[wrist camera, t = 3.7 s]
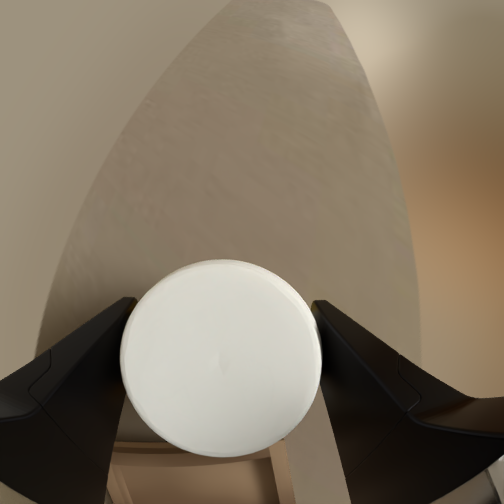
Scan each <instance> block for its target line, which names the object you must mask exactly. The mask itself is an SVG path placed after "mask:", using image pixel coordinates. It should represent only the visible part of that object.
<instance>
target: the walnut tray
mask: <svg viewBox="0 0 504 504" xmlns="http://www.w3.org/2000/svg"><path fill="white" fill-rule="evenodd" d="M107 489H108V491H109V494H110V496H111V499H112V501H113V503H114V504H296V503H295V497H294V491H293V486H292V480H291V475H290V469H289V463H288V458H287V452H286V447H285V441H284V439H283V438H282V439H281V440H279V441H278V442H276V443H274V444H273V445H271V446H269V447H267V448H265V449H262V450H260V451H257V452H255V453H251V454H247V455H242V456H237V457H210V456H204V455H199V454H195V453H192V452H189V451H186V450H183V449H181V448H179V447H176V446H174V445H172V444H171V443H169V442H118V441H115V442H114V447H113V452H112V457H111V463H110V468H109V474H108V481H107Z"/></svg>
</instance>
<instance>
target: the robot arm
mask: <svg viewBox="0 0 504 504" xmlns="http://www.w3.org/2000/svg"><path fill="white" fill-rule="evenodd" d="M137 303H138V302H137V299H136V298H135V297H123V298H121V299H120V300H119V301H117V302H116V303H114V304H113V305H111V306H110V307H108V308H107V309H105V310H104V311H102V312H101V313H99V314H98V315H96V316H95V317H94V318H92V319H91V320H89V321H88V322H86V323H85V324H83V325H82V326H81V327H79V328H78V329H76V330H75V331H73V332H72V333H71V334H69V335H68V336H66V337H65V338H63V339H62V340H61V341H59V342H58V343H56V344H55V345H54V346H52V347H51V349H48V350H47V351H45V352H44V353H42V354H41V355H40V356H38V357H37V358H35V359H34V360H32V361H31V362H30V363H28V364H26V365H25V366H23V367H22V368H20V369H18V370H17V371H15V372H14V373H12V374H10V375H9V376H7V377H5V378H4V379H2V380H1V381H0V504H104V500H105V493H106V487H107V481H108V474H109V468H110V463H111V457H112V452H113V447H114V442H115V438H116V433H117V429H118V424H119V420H120V416H121V411H122V407H123V403H124V399H125V395H126V390H125V387H124V384H123V380H122V374H121V367H120V348H121V342H122V336H123V332H124V329H125V326H126V323H127V321H128V319H129V317H130V315H131V313H132V311H133V310H134V308H135V306H136V305H137ZM310 311H311V313H312V315H313V317H314V319H315V321H316V324H317V327H318V330H319V333H320V337H321V343H322V355H323V361H322V371H321V376H320V382H319V383H320V386H321V390H322V393H323V397H324V400H325V404H326V407H327V411H328V415H329V418H330V422H331V426H332V429H333V433H334V437H335V441H336V444H337V448H338V452H339V456H340V460H341V463H342V467H343V471H344V475H345V480H346V484H347V488H348V492H349V496H350V500H351V504H504V397H494V398H474V397H470V396H467V395H464V394H463V393H461V392H459V391H457V390H456V389H454V388H452V387H450V386H449V385H447V384H445V383H444V382H442V381H440V380H439V379H437V378H435V377H434V376H432V375H430V374H429V373H427V372H426V371H424V370H422V369H421V368H419V367H418V366H416V365H415V364H414V363H412V362H411V361H409V360H408V359H406V358H405V357H404V356H402V355H401V354H400V355H399V353H398V352H397V351H395V350H394V349H393V348H391V347H390V346H388V345H387V344H386V343H384V342H383V341H382V340H380V339H379V338H377V337H376V336H375V335H373V334H372V333H371V332H369V331H368V330H366V329H365V328H364V327H362V326H361V325H359V324H358V323H357V322H355V321H354V320H353V319H351V318H350V317H348V316H347V315H346V314H344V313H343V312H341V311H340V310H339V309H337V308H336V307H335V306H333V305H332V304H330V303H329V302H328V301H326V300H314V301H313V303H312V306H311V310H310Z"/></svg>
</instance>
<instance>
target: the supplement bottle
mask: <svg viewBox="0 0 504 504" xmlns="http://www.w3.org/2000/svg"><path fill="white" fill-rule="evenodd" d="M322 361H323V355H322V343H321V337H320V333H319V330H318V327H317V324H316V321H315V319H314V317H313V315H312V313H311V311H310V309H309V307H308V306H307V304H306V303H305V301H304V300H303V299H302V298H301V296H300V295H299V294H298V293H297V292H296V291H295V290H294V289H293V288H292V287H291V286H290V285H289V284H288V283H287V282H285V281H284V280H283V279H281V278H280V277H278V276H277V275H275V274H273V273H272V272H270V271H268V270H266V269H264V268H262V267H259V266H256V265H254V264H250V263H247V262H242V261H237V260H226V259H218V260H207V261H201V262H197V263H193V264H190V265H187V266H185V267H182V268H180V269H178V270H176V271H174V272H172V273H170V274H169V275H167V276H166V277H164V278H163V279H161V280H160V281H159V282H158V283H157V284H156V285H154V286H153V287H152V288H151V289H150V290H149V291H148V292H147V293H146V294H145V295H144V296H143V297H142V299H141V300H140V301H139V302H138V303H137V305H136V306H135V308H134V310H133V311H132V313H131V315H130V317H129V319H128V321H127V323H126V326H125V329H124V332H123V336H122V342H121V348H120V367H121V374H122V380H123V384H124V387H125V390H126V392H127V395H128V398H129V400H130V401H131V403H132V405H133V407H134V408H135V410H136V411H137V413H138V414H139V416H140V417H141V419H142V420H143V421H144V422H145V423H146V424H147V425H148V426H149V427H150V428H151V429H152V430H153V431H154V432H155V433H156V434H158V435H159V436H160V437H162V438H163V439H164V440H166V441H167V442H169V443H171V444H172V445H174V446H176V447H179V448H181V449H183V450H186V451H189V452H192V453H195V454H199V455H204V456H210V457H237V456H242V455H247V454H251V453H255V452H257V451H260V450H262V449H265V448H267V447H269V446H271V445H273V444H274V443H276V442H278V441H279V440H281V439H282V438H283V437H285V436H286V435H287V434H289V433H290V432H291V431H292V430H293V429H294V428H295V427H296V426H297V425H298V424H299V422H300V421H301V420H302V419H303V417H304V416H305V414H306V413H307V411H308V410H309V408H310V406H311V404H312V402H313V400H314V398H315V395H316V392H317V389H318V385H319V382H320V376H321V371H322Z"/></svg>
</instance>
